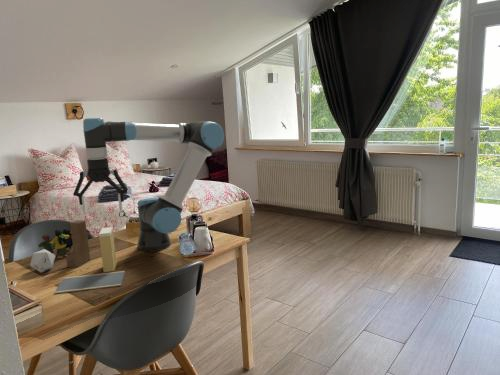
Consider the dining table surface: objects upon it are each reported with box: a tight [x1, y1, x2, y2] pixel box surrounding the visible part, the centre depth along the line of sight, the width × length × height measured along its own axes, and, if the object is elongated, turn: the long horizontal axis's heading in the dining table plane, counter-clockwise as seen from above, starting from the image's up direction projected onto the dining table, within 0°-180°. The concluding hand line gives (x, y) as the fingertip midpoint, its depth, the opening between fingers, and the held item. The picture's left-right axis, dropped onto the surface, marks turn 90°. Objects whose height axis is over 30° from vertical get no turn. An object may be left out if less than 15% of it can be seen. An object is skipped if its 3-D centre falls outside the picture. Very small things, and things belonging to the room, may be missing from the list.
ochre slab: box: [98, 226, 117, 273], centre depth 161 cm, size 4×8×16 cm, turn 11°
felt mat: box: [53, 270, 126, 295], centre depth 149 cm, size 23×13×1 cm, turn 101°
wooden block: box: [65, 219, 91, 268], centre depth 167 cm, size 9×4×18 cm, turn 160°
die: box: [29, 248, 57, 274], centre depth 162 cm, size 8×9×10 cm
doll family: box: [37, 228, 91, 259], centre depth 180 cm, size 23×9×13 cm, turn 157°
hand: (103, 211), depth 157 cm, fingers open, 13 cm apart
